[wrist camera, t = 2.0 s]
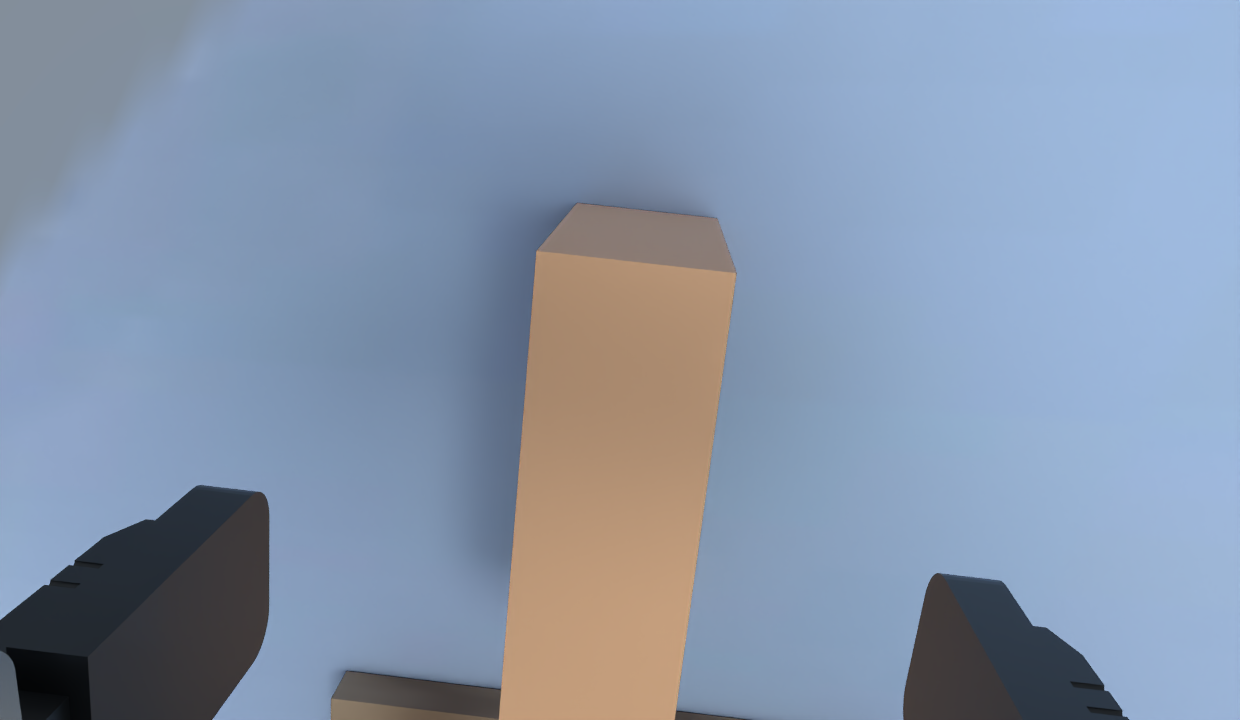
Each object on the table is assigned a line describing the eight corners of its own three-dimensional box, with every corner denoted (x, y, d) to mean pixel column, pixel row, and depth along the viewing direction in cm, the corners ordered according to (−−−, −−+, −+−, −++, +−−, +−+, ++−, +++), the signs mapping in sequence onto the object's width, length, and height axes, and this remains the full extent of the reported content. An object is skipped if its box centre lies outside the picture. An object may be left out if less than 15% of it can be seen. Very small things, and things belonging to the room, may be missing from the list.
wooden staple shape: (667, 595, 31) (666, 780, 22) (542, 580, 31) (495, 758, 22) (717, 218, 27) (736, 273, 19) (577, 202, 27) (536, 250, 19)
